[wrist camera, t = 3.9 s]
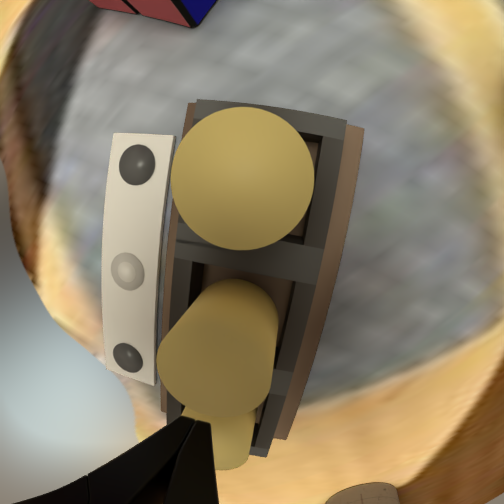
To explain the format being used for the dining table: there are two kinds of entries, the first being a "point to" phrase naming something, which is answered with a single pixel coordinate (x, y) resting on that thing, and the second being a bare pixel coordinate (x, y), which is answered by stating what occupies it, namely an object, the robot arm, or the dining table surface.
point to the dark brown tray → (275, 264)
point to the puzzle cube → (162, 9)
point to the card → (134, 251)
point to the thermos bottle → (367, 495)
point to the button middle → (222, 350)
